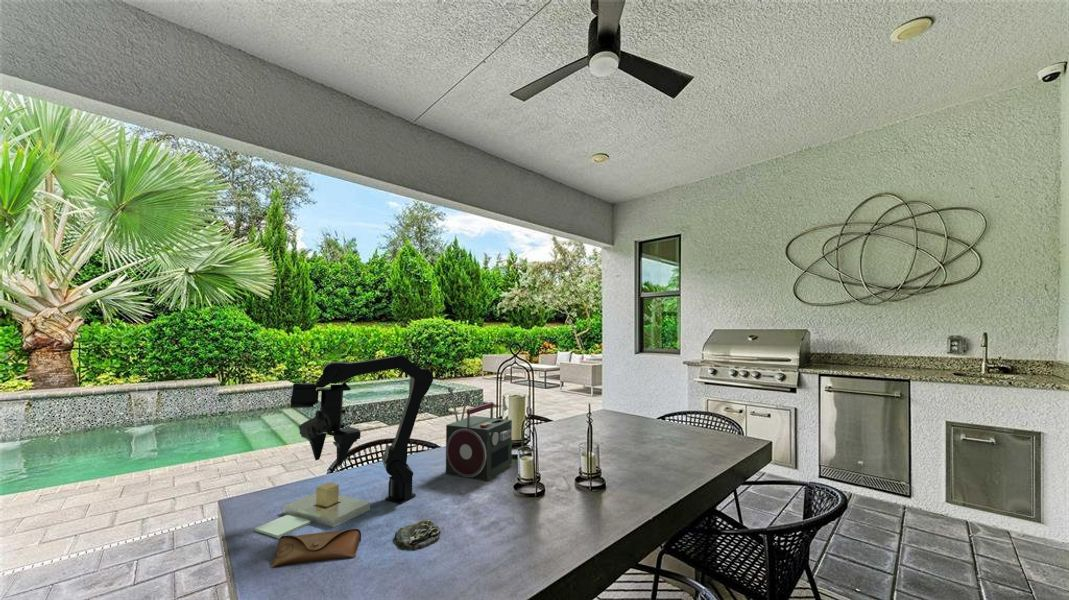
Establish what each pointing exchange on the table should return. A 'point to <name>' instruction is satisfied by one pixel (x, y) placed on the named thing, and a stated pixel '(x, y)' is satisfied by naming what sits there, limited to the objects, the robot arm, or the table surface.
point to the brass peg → (327, 495)
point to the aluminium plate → (327, 510)
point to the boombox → (478, 444)
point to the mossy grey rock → (417, 535)
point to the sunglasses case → (316, 547)
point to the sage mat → (282, 526)
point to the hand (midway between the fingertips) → (328, 462)
